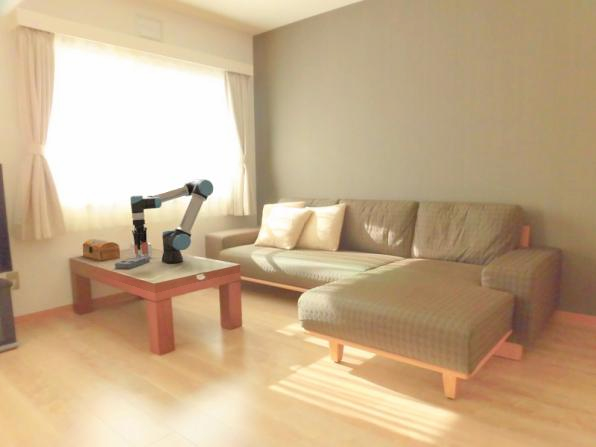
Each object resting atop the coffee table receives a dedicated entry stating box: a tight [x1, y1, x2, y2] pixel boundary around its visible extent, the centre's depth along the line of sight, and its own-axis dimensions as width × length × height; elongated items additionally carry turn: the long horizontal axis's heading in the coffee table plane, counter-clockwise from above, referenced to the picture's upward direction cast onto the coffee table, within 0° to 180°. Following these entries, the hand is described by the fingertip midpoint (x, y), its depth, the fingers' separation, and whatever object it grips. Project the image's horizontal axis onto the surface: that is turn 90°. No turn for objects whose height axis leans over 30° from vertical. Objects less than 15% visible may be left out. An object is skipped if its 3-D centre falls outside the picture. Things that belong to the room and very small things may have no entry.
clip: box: [133, 241, 149, 259], centre depth 276 cm, size 3×8×11 cm, turn 77°
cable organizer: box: [129, 242, 153, 258], centre depth 318 cm, size 15×11×12 cm
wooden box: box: [82, 238, 121, 262], centre depth 322 cm, size 30×16×14 cm, turn 50°
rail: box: [114, 256, 151, 270], centre depth 293 cm, size 24×11×4 cm, turn 167°
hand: (141, 253), depth 276 cm, fingers closed on clip, 3 cm apart
